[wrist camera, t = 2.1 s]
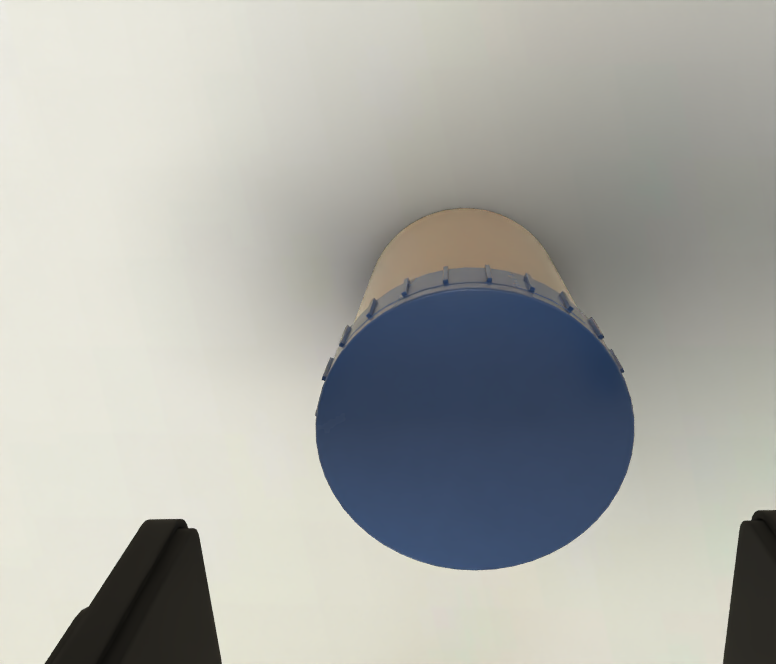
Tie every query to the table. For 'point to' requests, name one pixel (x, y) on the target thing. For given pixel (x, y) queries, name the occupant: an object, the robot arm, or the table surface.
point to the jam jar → (460, 250)
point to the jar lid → (474, 420)
